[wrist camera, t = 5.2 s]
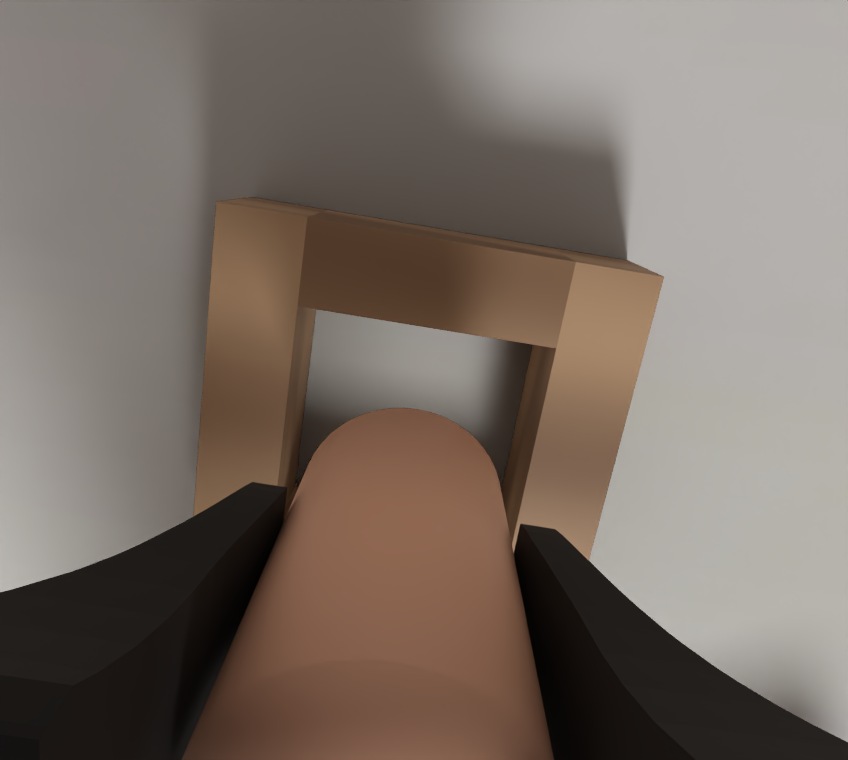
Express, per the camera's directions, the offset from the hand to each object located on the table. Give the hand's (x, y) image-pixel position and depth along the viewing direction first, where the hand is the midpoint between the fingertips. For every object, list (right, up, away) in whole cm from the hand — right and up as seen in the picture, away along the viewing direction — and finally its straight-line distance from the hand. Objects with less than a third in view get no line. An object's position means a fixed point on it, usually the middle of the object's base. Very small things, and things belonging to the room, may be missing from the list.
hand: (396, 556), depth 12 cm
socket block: (0, +2, +8) cm, 8 cm away
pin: (0, +1, +2) cm, 2 cm away
